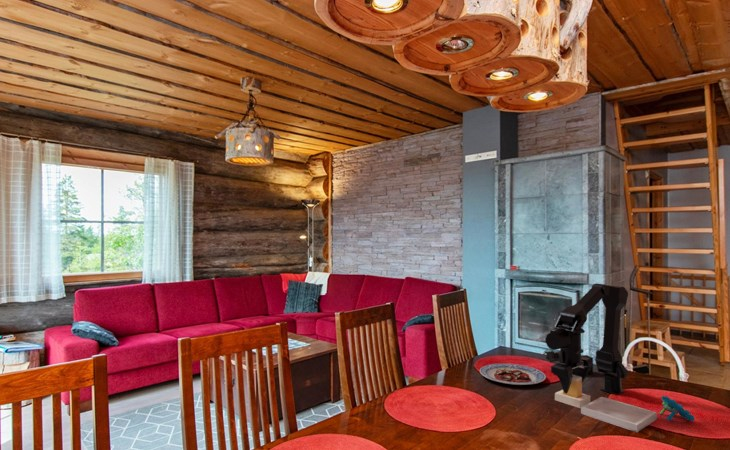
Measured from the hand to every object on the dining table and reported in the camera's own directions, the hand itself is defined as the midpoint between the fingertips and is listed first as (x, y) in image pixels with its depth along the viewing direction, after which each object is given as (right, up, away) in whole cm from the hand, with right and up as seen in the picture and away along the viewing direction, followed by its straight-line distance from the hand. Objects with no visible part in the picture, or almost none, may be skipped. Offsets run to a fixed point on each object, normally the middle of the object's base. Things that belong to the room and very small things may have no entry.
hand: (572, 390), depth 157 cm
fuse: (0, -4, 0) cm, 4 cm away
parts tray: (+9, -4, -13) cm, 16 cm away
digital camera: (+17, -5, +32) cm, 36 cm away
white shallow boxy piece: (0, -4, 0) cm, 4 cm away
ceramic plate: (-13, -5, +25) cm, 29 cm away
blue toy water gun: (+26, -4, -15) cm, 31 cm away
